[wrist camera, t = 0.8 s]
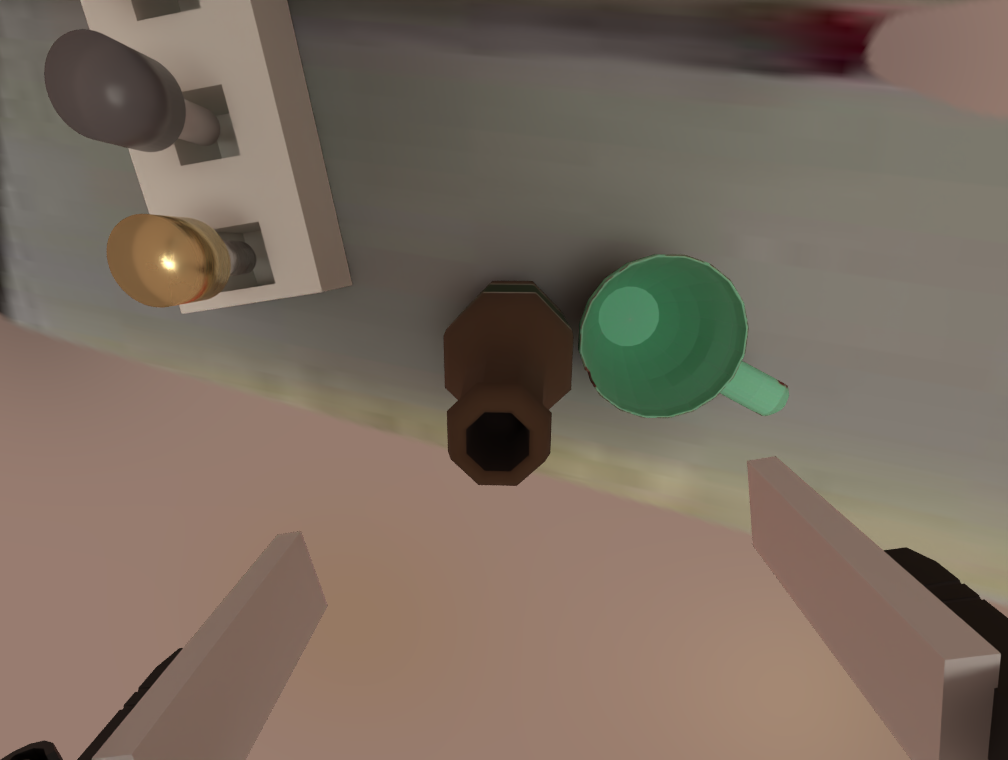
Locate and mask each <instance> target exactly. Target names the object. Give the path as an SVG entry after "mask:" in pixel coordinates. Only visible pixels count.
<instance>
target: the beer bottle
mask: <svg viewBox="0 0 1008 760" xmlns="http://www.w3.org/2000/svg"><path fill="white" fill-rule="evenodd" d="M572 355H573V332H572V329H571V328H570V326H569V324H568V322H567V321H566V319H565V317H564V315H563V314H562V312H561V310H560V309H559V308H558V307H557V306H556V305H555V304H554V303H553V302H552V301H551V300H550V299H549V298H548V297H547V296H546V295H545V294H544V293H543V292H542V291H541V289H540V288H539V287H538V286H537V285H536V284H535V283H534V282H533V281H492V282H491V283H490V284H489V285H488V286H487V287H486V288H485V289H484V290H483V291H482V292H481V293H480V294H479V295H478V296H477V297H476V298H475V299H474V300H473V301H472V302H471V303H470V304H469V305H468V306H467V307H466V308H465V309H464V310H463V312H462V313H461V314H460V315H459V316H458V317H457V318H456V319H455V320H454V321H453V323H452V324H451V325H450V326H449V327H448V328H447V329H446V331H445V334H444V371H445V388H446V389H447V390H448V391H449V392H450V393H451V394H452V395H453V396H454V397H455V398H456V399H458V401H457V402H456V403H455V404H454V405H453V406H452V407H451V408H450V409H449V410H448V411H447V431H448V452H449V455H450V458H451V460H452V461H453V462H455V464H457V465H458V466H459V467H460V468H461V469H462V470H463V471H464V472H465V473H466V474H467V475H468V476H470V477H471V478H472V479H473V480H474V481H475V482H476V483H477V484H478V485H507V486H508V485H509V486H517V485H518V484H519V483H520V482H522V481H523V480H524V479H525V478H526V477H527V476H529V475H530V474H531V473H532V472H533V471H534V470H535V469H537V468H538V467H539V466H540V465H541V464H542V463H544V462H545V460H546V459H547V457H548V456H549V454H550V446H551V417H552V413H551V412H550V411H549V409H550V408H551V407H552V406H553V405H554V404H555V403H557V402H558V401H559V400H560V399H561V398H562V397H563V396H564V395H565V394H567V393H568V392H569V391H570V390H571V377H572Z"/></svg>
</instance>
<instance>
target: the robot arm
mask: <svg viewBox="0 0 1008 760" xmlns="http://www.w3.org/2000/svg"><path fill="white" fill-rule="evenodd" d="M747 467H748V481H749V496H750V511H751V525H752V540H753V546H754V548H755V549H756V551H757V552H758V553H759V554H760V556H761V557H762V558H763V560H764V561H765V563H766V564H767V565H768V567H769V568H770V569H771V571H772V572H773V574H774V575H775V576H776V578H777V579H778V580H779V582H780V583H781V584H782V586H783V587H784V588H785V590H786V591H787V592H788V594H789V595H790V596H791V598H792V599H793V601H794V602H795V603H796V605H797V606H798V607H799V609H800V610H801V611H802V613H803V614H804V615H805V617H806V618H807V619H808V621H809V622H810V624H811V625H812V626H813V628H814V629H815V630H816V632H817V633H818V634H819V636H820V637H821V638H822V640H823V641H824V642H825V644H826V645H827V646H828V648H829V649H830V650H831V652H832V653H833V655H834V656H835V657H836V659H837V660H838V661H839V663H840V664H841V665H842V667H843V668H844V670H845V671H846V672H847V674H848V675H849V676H850V678H851V679H852V680H853V682H854V683H855V684H856V686H857V687H858V688H859V690H860V691H861V693H862V694H863V695H864V697H865V698H866V699H867V701H868V702H869V703H870V705H871V706H872V707H873V709H874V710H875V711H876V713H877V714H878V715H879V717H880V718H881V720H882V721H883V722H884V724H885V725H886V726H887V728H888V729H889V730H890V732H891V733H892V734H893V736H894V737H895V738H896V740H897V741H898V743H899V744H900V745H901V747H902V748H903V749H904V751H905V752H906V753H907V755H908V756H909V757H910V759H911V760H1008V618H1007V617H1006V616H1004V615H1003V614H1002V613H1001V612H999V611H998V610H997V609H996V608H994V607H993V606H992V605H991V604H989V603H988V602H987V601H986V600H981V599H980V597H979V595H978V594H977V593H975V592H974V591H973V590H972V589H970V588H969V587H968V586H967V585H965V584H961V583H960V580H959V579H958V578H956V577H955V576H954V575H953V574H951V573H950V572H949V571H948V570H946V569H945V568H944V567H942V566H941V565H940V564H939V563H937V562H936V561H934V560H932V559H930V558H928V557H925V556H923V555H921V554H919V553H917V552H915V551H913V550H911V549H909V548H898V549H891V550H884V551H883V550H882V549H881V548H880V547H879V546H877V545H876V544H875V543H874V542H873V541H872V540H871V539H869V538H868V537H867V536H866V535H865V534H864V533H863V532H861V531H860V530H859V529H858V528H857V527H856V526H855V525H853V524H852V523H851V522H850V521H849V520H848V519H847V518H845V517H844V516H843V515H842V514H841V513H840V512H839V511H837V510H836V509H835V508H834V507H833V506H832V505H831V504H829V503H828V502H827V501H826V500H825V499H824V498H823V497H821V496H820V495H819V494H818V493H817V492H816V491H815V490H813V489H812V488H811V487H810V486H809V485H808V484H807V483H805V482H804V481H803V480H802V479H801V478H800V477H799V476H797V475H796V474H795V473H794V472H793V471H792V470H791V469H789V468H788V467H787V466H786V465H785V464H784V463H783V462H782V461H780V460H779V459H778V458H777V457H776V456H775V457H768V458H762V459H756V460H749V461H747ZM327 606H328V605H327V602H326V600H325V597H324V594H323V591H322V588H321V585H320V583H319V580H318V577H317V574H316V571H315V569H314V566H313V563H312V560H311V557H310V555H309V552H308V549H307V546H306V543H305V541H304V538H303V535H302V532H301V531H297V532H291V533H285V534H278V535H277V536H276V537H275V538H274V539H273V540H272V542H271V543H270V544H269V545H268V546H267V548H266V549H265V550H264V551H263V552H262V554H261V555H260V556H259V557H258V558H257V560H256V561H255V562H254V563H253V565H252V566H251V567H250V568H249V569H248V571H247V572H246V573H245V574H244V575H243V577H242V578H241V579H240V580H239V581H238V583H237V584H236V585H235V586H234V587H233V589H232V590H231V591H230V592H229V594H228V595H227V596H226V597H225V598H224V599H223V601H222V602H221V603H220V604H219V606H218V607H217V608H216V609H215V610H214V612H213V613H212V614H211V615H210V616H209V618H208V619H207V620H206V621H205V622H204V624H203V625H202V626H201V627H200V628H199V630H198V631H197V632H196V633H195V635H194V636H193V637H192V638H191V639H190V641H189V642H188V643H187V644H186V645H185V647H184V648H179V649H178V650H177V651H175V652H174V653H173V654H172V655H171V656H169V657H168V658H167V659H166V660H164V661H163V662H162V663H161V664H160V665H158V666H157V667H156V668H155V669H154V670H153V672H152V673H151V674H150V675H149V676H148V677H147V679H146V680H145V681H144V682H143V683H142V685H141V686H140V687H139V690H138V692H135V693H134V694H133V695H132V696H131V698H130V699H129V700H128V701H127V702H126V703H125V704H124V708H123V710H119V711H118V713H117V714H116V715H115V716H114V717H113V718H112V720H111V721H110V722H109V723H108V724H107V725H106V727H105V728H104V729H103V730H102V731H101V733H100V734H99V735H98V736H97V737H96V738H95V740H94V741H93V742H92V743H91V744H90V746H89V747H88V748H87V749H86V750H85V751H84V752H83V754H82V755H81V756H80V757H79V758H78V759H77V760H246V758H247V756H248V754H249V753H250V750H251V748H252V747H253V745H254V743H255V741H256V739H257V737H258V736H259V734H260V732H261V730H262V728H263V726H264V724H265V722H266V720H267V719H268V717H269V715H270V713H271V711H272V709H273V707H274V706H275V704H276V702H277V700H278V698H279V696H280V694H281V692H282V691H283V689H284V687H285V685H286V683H287V681H288V679H289V677H290V676H291V673H292V672H293V670H294V668H295V666H296V664H297V662H298V660H299V659H300V657H301V655H302V653H303V651H304V649H305V647H306V645H307V644H308V642H309V640H310V638H311V636H312V634H313V632H314V630H315V629H316V627H317V625H318V623H319V621H320V619H321V617H322V615H323V614H324V612H325V610H326V608H327ZM1 760H63V759H62V757H61V755H60V754H59V752H58V751H57V749H56V747H55V745H54V744H53V743H51V742H47V741H40V742H36V743H31V744H29V745H27V746H25V747H22V748H20V749H18V750H16V751H14V752H12V753H10V754H9V755H7V756H6V757H4V758H2V759H1Z"/></svg>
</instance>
